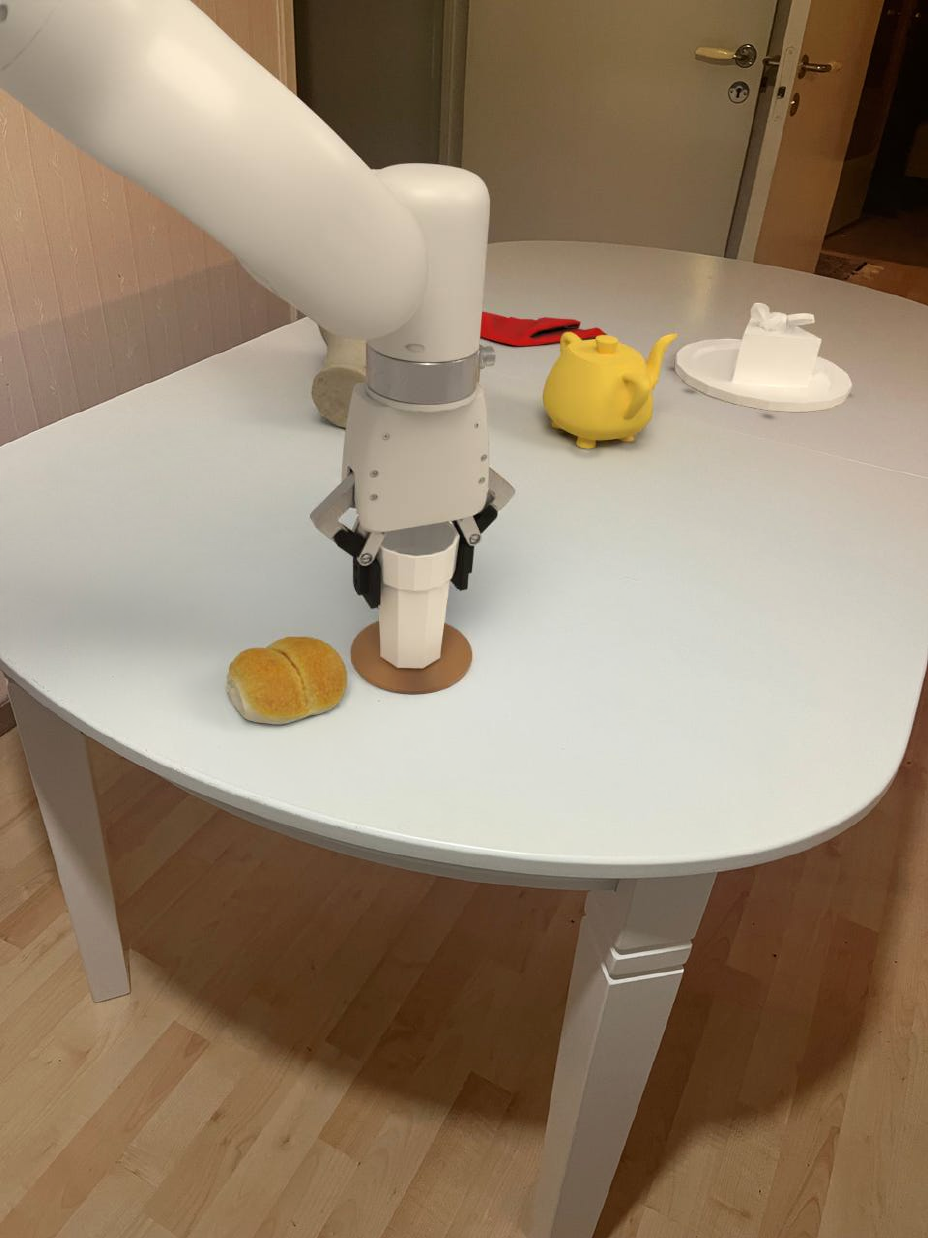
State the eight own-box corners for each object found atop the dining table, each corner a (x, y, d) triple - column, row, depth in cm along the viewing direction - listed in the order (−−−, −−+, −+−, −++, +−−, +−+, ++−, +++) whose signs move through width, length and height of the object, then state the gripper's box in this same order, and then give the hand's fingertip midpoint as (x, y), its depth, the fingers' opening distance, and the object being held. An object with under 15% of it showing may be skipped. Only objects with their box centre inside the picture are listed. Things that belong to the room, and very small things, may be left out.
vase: (430, 359, 96) (483, 229, 113) (229, 301, 95) (313, 180, 113) (404, 506, 112) (453, 373, 130) (232, 457, 112) (305, 331, 130)
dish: (875, 416, 125) (903, 334, 118) (691, 405, 124) (710, 321, 117) (818, 352, 145) (840, 278, 138) (660, 342, 144) (674, 267, 137)
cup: (356, 661, 74) (356, 544, 68) (389, 618, 79) (392, 505, 73) (433, 683, 73) (440, 565, 66) (461, 637, 78) (471, 524, 71)
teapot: (647, 465, 108) (666, 368, 101) (528, 443, 111) (539, 347, 104) (660, 420, 119) (679, 329, 112) (552, 401, 122) (563, 311, 115)
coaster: (375, 706, 71) (375, 702, 71) (334, 632, 78) (334, 629, 78) (492, 677, 75) (492, 674, 74) (442, 610, 82) (442, 606, 82)
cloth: (425, 332, 141) (426, 317, 139) (453, 307, 151) (454, 293, 150) (593, 360, 135) (595, 345, 134) (609, 332, 146) (612, 318, 145)
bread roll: (364, 703, 71) (364, 663, 69) (254, 742, 67) (250, 700, 65) (318, 645, 77) (317, 606, 74) (213, 677, 72) (208, 637, 70)
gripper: (511, 340, 68) (490, 547, 78) (280, 362, 62) (291, 585, 72) (561, 377, 63) (532, 595, 73) (313, 405, 56) (320, 639, 67)
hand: (412, 588), depth 72 cm, fingers closed on cup, 6 cm apart
